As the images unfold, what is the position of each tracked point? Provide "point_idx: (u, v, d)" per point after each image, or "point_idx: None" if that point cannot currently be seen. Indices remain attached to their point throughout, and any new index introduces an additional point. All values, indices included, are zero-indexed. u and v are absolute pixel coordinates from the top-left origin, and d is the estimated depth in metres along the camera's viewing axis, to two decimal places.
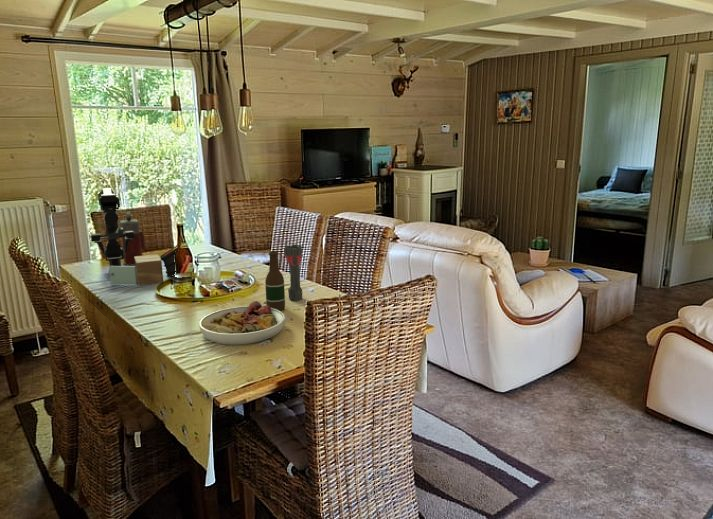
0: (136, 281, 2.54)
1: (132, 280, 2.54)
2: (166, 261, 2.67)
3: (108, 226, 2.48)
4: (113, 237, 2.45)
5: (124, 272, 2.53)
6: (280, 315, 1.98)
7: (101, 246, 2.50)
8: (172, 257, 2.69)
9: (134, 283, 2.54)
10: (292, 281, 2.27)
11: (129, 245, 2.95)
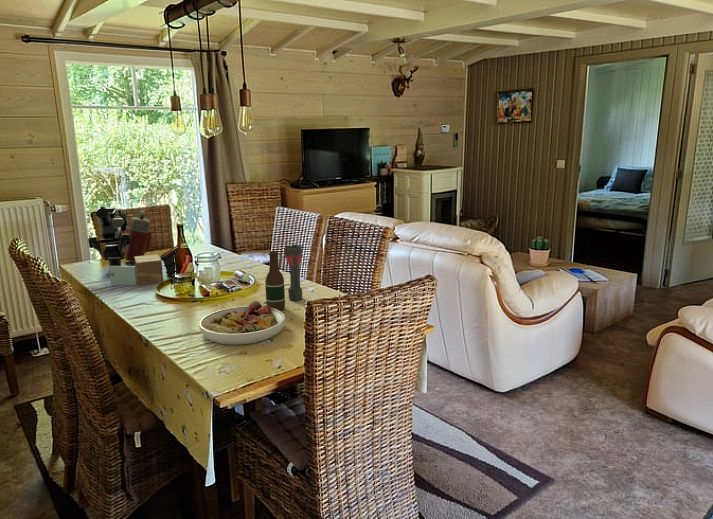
0: (136, 281, 2.54)
1: (132, 280, 2.54)
2: (166, 261, 2.67)
3: None
4: (108, 230, 2.60)
5: (124, 272, 2.53)
6: (280, 315, 1.98)
7: (99, 247, 2.61)
8: (172, 257, 2.69)
9: (134, 283, 2.54)
10: (292, 281, 2.27)
11: (135, 242, 2.96)
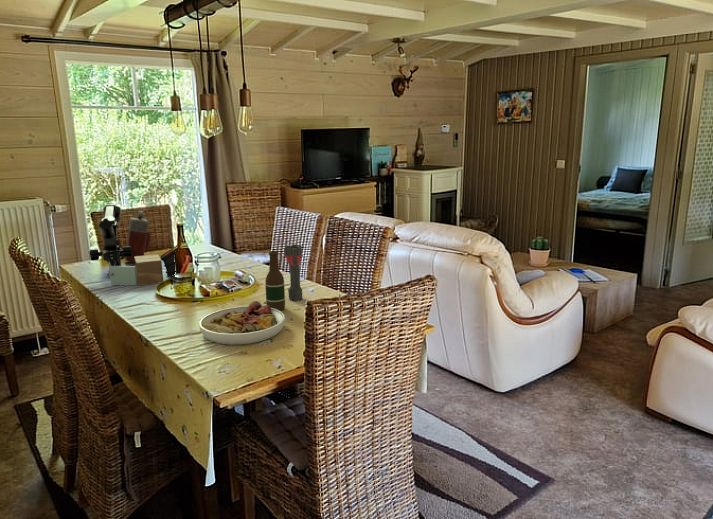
0: (136, 281, 2.54)
1: (132, 280, 2.54)
2: (166, 261, 2.67)
3: None
4: (109, 242, 2.56)
5: (124, 272, 2.53)
6: (280, 315, 1.98)
7: (109, 258, 2.59)
8: (172, 257, 2.69)
9: (134, 283, 2.54)
10: (292, 281, 2.27)
11: (134, 243, 2.96)
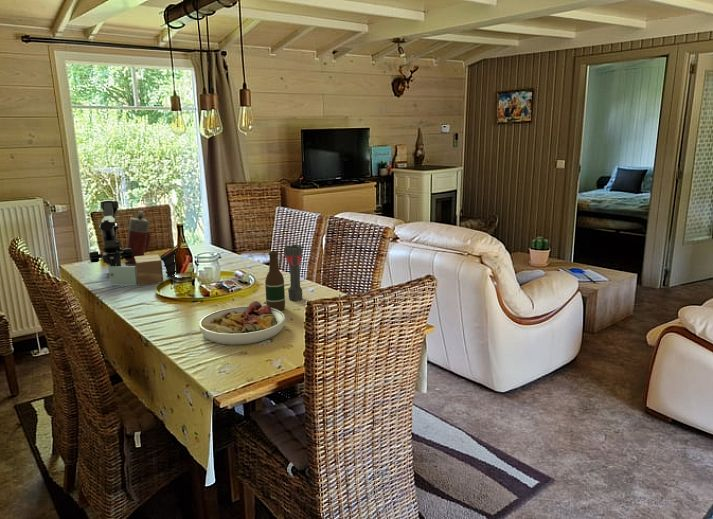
0: (136, 281, 2.54)
1: (132, 280, 2.54)
2: (166, 261, 2.67)
3: None
4: (110, 244, 2.52)
5: (124, 272, 2.53)
6: (280, 315, 1.98)
7: (109, 261, 2.55)
8: (172, 257, 2.69)
9: (134, 283, 2.54)
10: (292, 281, 2.27)
11: (134, 243, 2.96)
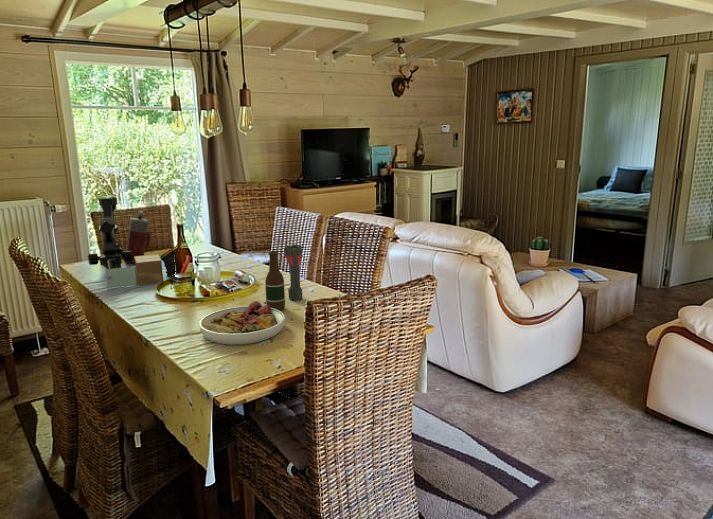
0: (136, 281, 2.54)
1: (132, 281, 2.53)
2: (166, 261, 2.67)
3: None
4: (109, 247, 2.48)
5: (123, 273, 2.50)
6: (280, 315, 1.98)
7: (106, 263, 2.50)
8: (172, 257, 2.69)
9: (134, 283, 2.53)
10: (292, 281, 2.27)
11: (134, 243, 2.96)
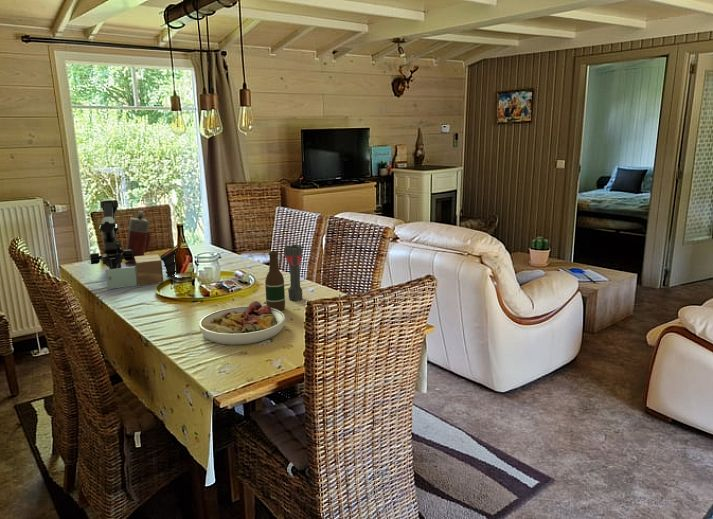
0: (136, 281, 2.54)
1: (132, 281, 2.52)
2: (166, 261, 2.67)
3: None
4: (110, 246, 2.52)
5: (123, 273, 2.50)
6: (280, 315, 1.98)
7: (108, 262, 2.54)
8: (172, 257, 2.69)
9: (134, 283, 2.53)
10: (292, 281, 2.27)
11: (134, 243, 2.96)
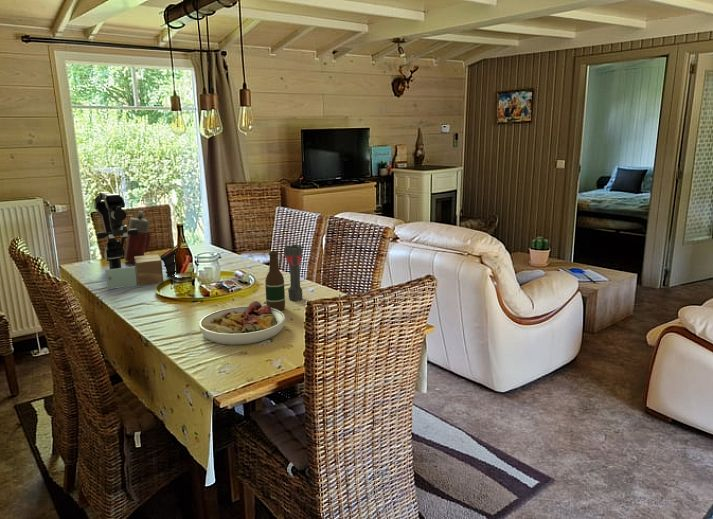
0: (136, 281, 2.54)
1: (132, 281, 2.52)
2: (166, 261, 2.67)
3: (113, 224, 2.62)
4: (117, 234, 2.59)
5: (123, 273, 2.50)
6: (280, 315, 1.98)
7: (115, 242, 2.66)
8: (172, 257, 2.69)
9: (134, 283, 2.53)
10: (292, 281, 2.27)
11: (134, 243, 2.96)
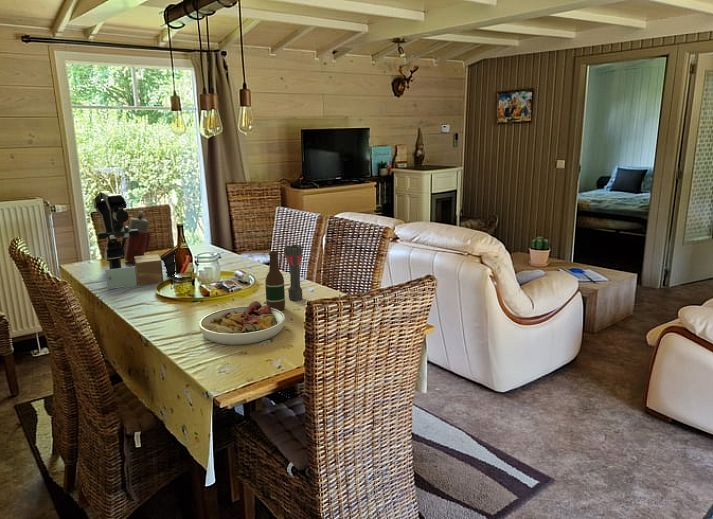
0: (136, 281, 2.54)
1: (132, 281, 2.52)
2: (166, 261, 2.67)
3: (114, 225, 2.62)
4: (119, 235, 2.60)
5: (123, 273, 2.50)
6: (280, 315, 1.98)
7: (116, 243, 2.66)
8: (172, 257, 2.69)
9: (134, 283, 2.53)
10: (292, 281, 2.27)
11: (134, 243, 2.96)
